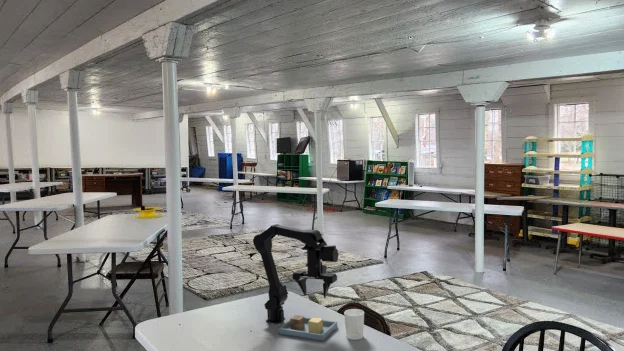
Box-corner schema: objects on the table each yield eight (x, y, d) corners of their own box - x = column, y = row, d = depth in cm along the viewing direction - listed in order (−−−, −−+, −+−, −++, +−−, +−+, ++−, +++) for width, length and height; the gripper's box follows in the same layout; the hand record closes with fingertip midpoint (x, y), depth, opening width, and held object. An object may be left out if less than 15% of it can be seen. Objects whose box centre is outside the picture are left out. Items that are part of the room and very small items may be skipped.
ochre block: (308, 331, 192) (308, 321, 192) (313, 327, 196) (312, 317, 196) (318, 333, 190) (318, 322, 190) (323, 329, 194) (322, 318, 194)
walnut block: (290, 329, 196) (289, 318, 195) (295, 325, 200) (294, 314, 199) (299, 330, 194) (299, 320, 193) (304, 326, 198) (304, 316, 197)
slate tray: (278, 334, 192) (278, 328, 192) (295, 321, 206) (295, 315, 205) (322, 341, 183) (322, 335, 183) (337, 327, 197) (337, 321, 197)
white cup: (363, 341, 182) (363, 316, 182) (343, 340, 184) (342, 315, 183) (365, 333, 190) (364, 309, 190) (346, 332, 192) (345, 308, 191)
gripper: (341, 257, 200) (342, 293, 201) (302, 254, 208) (304, 288, 209) (331, 263, 190) (332, 301, 191) (290, 260, 198) (292, 296, 199)
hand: (315, 296), depth 198 cm, fingers open, 9 cm apart
